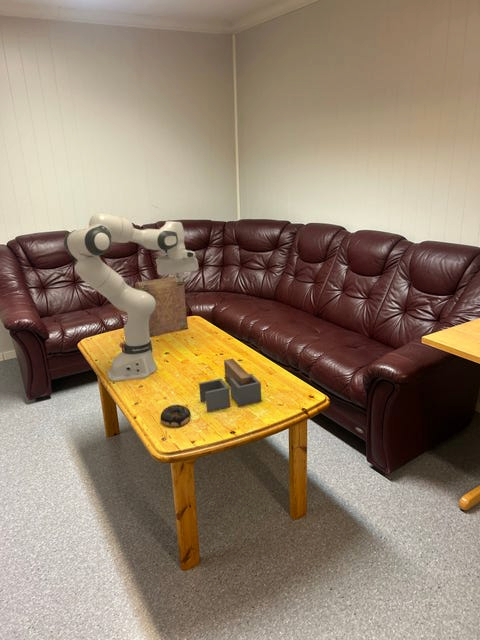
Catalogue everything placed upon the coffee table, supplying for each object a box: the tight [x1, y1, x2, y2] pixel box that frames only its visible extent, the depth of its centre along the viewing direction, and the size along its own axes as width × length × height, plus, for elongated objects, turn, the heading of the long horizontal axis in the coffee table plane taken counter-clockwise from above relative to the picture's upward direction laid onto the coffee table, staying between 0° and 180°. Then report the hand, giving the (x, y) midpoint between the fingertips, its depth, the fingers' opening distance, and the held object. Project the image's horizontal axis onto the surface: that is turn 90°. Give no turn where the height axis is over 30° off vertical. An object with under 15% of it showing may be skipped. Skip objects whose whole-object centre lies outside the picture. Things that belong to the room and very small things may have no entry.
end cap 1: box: [198, 378, 231, 413], centre depth 177 cm, size 9×9×8 cm
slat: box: [223, 358, 251, 387], centre depth 187 cm, size 4×20×10 cm, turn 22°
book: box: [134, 275, 189, 338], centre depth 257 cm, size 25×9×30 cm, turn 120°
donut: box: [160, 404, 192, 428], centre depth 168 cm, size 11×12×4 cm
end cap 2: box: [229, 373, 262, 407], centre depth 179 cm, size 9×9×8 cm
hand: (179, 281), depth 225 cm, fingers closed
